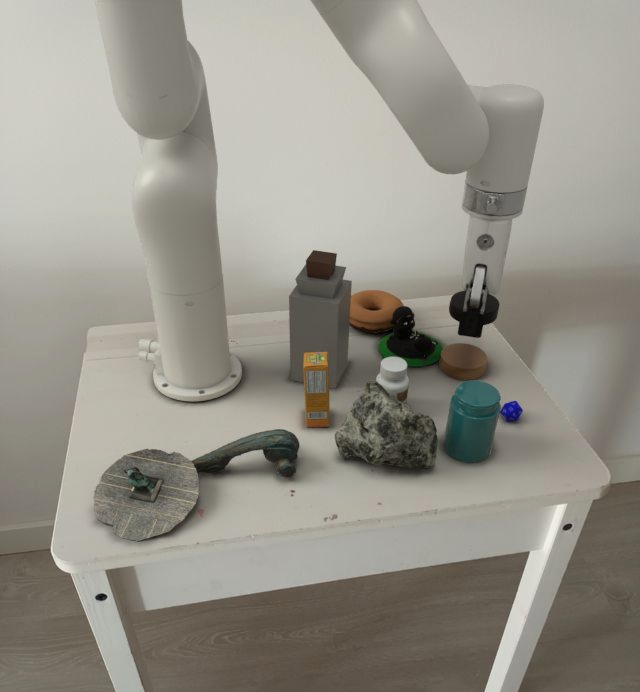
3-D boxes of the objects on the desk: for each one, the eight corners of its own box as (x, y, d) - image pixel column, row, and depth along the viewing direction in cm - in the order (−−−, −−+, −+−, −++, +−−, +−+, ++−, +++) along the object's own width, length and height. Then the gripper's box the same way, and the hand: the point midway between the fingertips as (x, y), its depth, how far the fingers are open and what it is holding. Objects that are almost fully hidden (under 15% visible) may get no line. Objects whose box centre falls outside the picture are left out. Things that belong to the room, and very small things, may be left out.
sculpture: (90, 466, 78) (117, 422, 74) (160, 479, 84) (190, 438, 80) (97, 551, 71) (128, 506, 67) (174, 559, 76) (207, 518, 72)
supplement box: (303, 412, 89) (303, 350, 83) (329, 412, 89) (330, 350, 83) (303, 428, 87) (303, 365, 80) (329, 428, 87) (331, 365, 80)
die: (516, 428, 87) (505, 413, 86) (503, 423, 90) (493, 408, 88) (529, 413, 88) (519, 398, 86) (516, 409, 90) (506, 394, 89)
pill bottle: (403, 422, 88) (409, 375, 83) (371, 418, 88) (375, 370, 83) (407, 403, 91) (412, 356, 86) (375, 399, 92) (379, 352, 87)
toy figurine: (403, 373, 96) (406, 339, 92) (365, 341, 103) (367, 308, 99) (456, 355, 100) (462, 322, 96) (417, 325, 107) (421, 293, 103)
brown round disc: (436, 375, 96) (437, 364, 95) (442, 351, 101) (443, 340, 100) (483, 383, 95) (485, 372, 94) (486, 358, 100) (489, 347, 99)
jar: (440, 457, 83) (449, 403, 77) (446, 428, 87) (455, 374, 82) (488, 466, 81) (501, 412, 76) (492, 436, 86) (504, 383, 80)
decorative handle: (293, 442, 84) (292, 411, 81) (305, 477, 79) (305, 446, 76) (174, 461, 81) (169, 430, 78) (180, 499, 76) (174, 467, 73)
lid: (445, 321, 91) (447, 309, 89) (451, 299, 96) (453, 287, 94) (495, 329, 89) (497, 316, 88) (498, 305, 94) (501, 293, 93)
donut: (341, 316, 101) (341, 338, 104) (406, 317, 101) (404, 339, 104) (343, 285, 109) (343, 306, 112) (403, 286, 109) (401, 307, 111)
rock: (394, 495, 85) (438, 432, 85) (416, 508, 76) (464, 437, 77) (318, 441, 82) (364, 376, 83) (332, 448, 74) (383, 376, 74)
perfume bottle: (290, 380, 95) (288, 264, 83) (304, 355, 100) (304, 242, 88) (335, 388, 93) (339, 272, 82) (347, 362, 98) (353, 249, 87)
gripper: (521, 228, 75) (494, 359, 86) (527, 176, 87) (502, 297, 99) (455, 220, 76) (437, 350, 88) (470, 171, 89) (452, 290, 100)
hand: (471, 321), depth 93 cm, fingers closed on lid, 6 cm apart
